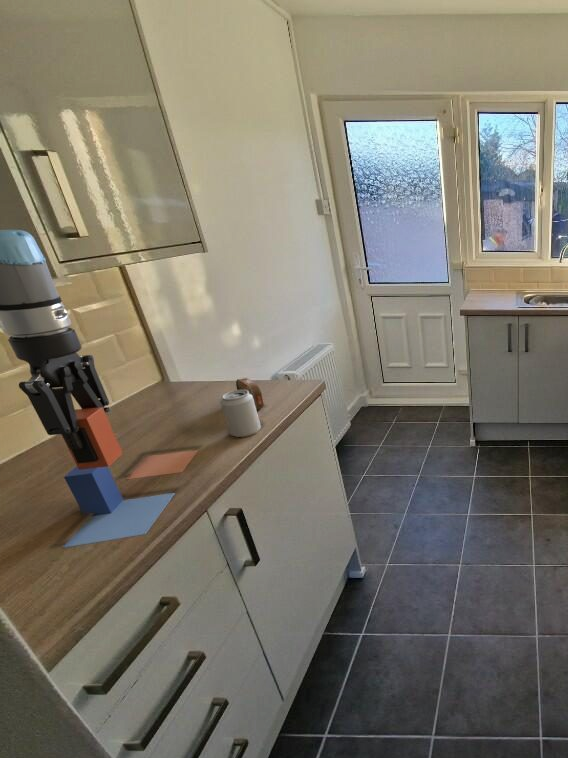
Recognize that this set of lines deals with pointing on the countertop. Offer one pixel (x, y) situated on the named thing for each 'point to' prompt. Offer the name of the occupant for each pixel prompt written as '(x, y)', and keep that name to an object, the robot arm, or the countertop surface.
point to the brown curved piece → (251, 391)
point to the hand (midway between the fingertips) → (97, 453)
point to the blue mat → (122, 521)
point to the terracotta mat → (163, 464)
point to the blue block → (94, 490)
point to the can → (240, 413)
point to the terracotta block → (97, 437)
